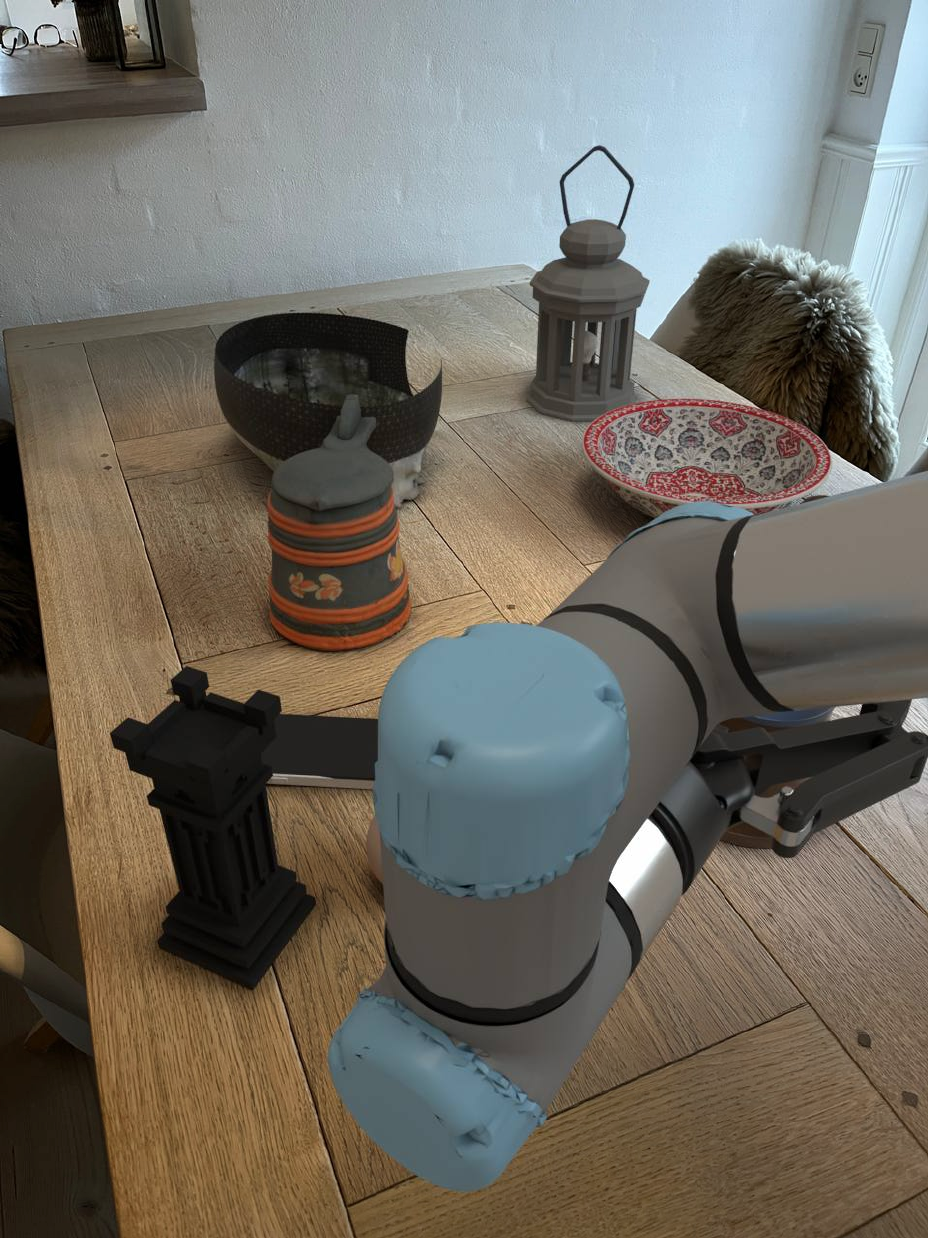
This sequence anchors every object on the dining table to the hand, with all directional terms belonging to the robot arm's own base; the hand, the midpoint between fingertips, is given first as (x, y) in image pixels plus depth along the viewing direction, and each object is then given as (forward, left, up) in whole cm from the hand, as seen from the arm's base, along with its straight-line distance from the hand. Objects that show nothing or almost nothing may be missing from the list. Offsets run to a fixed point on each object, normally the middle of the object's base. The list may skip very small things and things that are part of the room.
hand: (781, 619), depth 59 cm
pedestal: (+8, -10, -26) cm, 29 cm away
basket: (+81, -7, -26) cm, 85 cm away
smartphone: (+30, +18, -26) cm, 43 cm away
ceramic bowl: (+47, -40, -26) cm, 67 cm away
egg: (+14, +18, -26) cm, 34 cm away
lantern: (+81, -48, -26) cm, 98 cm away
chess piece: (+17, +31, -26) cm, 44 cm away
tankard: (+51, +6, -26) cm, 57 cm away
